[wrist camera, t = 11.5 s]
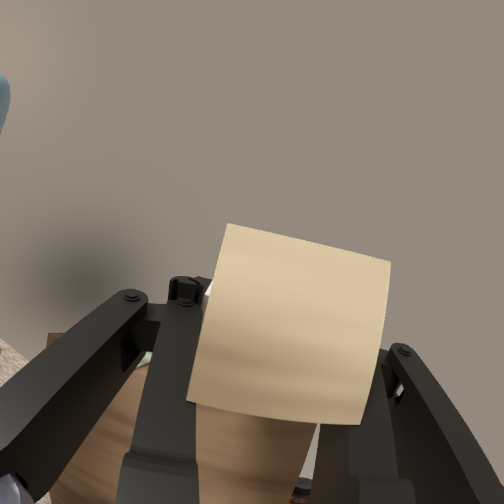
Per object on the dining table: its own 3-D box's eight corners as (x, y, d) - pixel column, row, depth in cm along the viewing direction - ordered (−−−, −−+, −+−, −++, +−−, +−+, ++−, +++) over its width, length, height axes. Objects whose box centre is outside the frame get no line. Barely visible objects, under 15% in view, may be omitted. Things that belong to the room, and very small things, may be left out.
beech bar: (359, 425, 5) (391, 261, 6) (185, 400, 5) (228, 223, 6) (259, 339, 36) (265, 311, 37) (230, 333, 36) (237, 304, 37)
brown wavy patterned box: (242, 589, 10) (323, 399, 18) (58, 530, 11) (50, 320, 19) (240, 514, 30) (284, 363, 38) (110, 477, 30) (130, 323, 38)
